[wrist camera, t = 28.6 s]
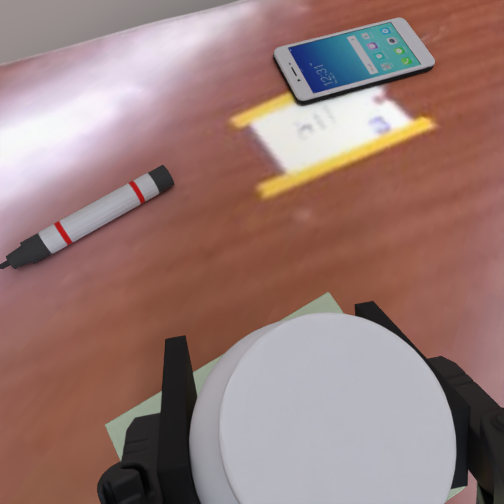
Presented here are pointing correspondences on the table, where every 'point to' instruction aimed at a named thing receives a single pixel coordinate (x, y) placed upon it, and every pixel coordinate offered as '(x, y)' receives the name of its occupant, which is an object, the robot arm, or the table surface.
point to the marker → (90, 218)
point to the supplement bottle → (322, 419)
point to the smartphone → (352, 60)
